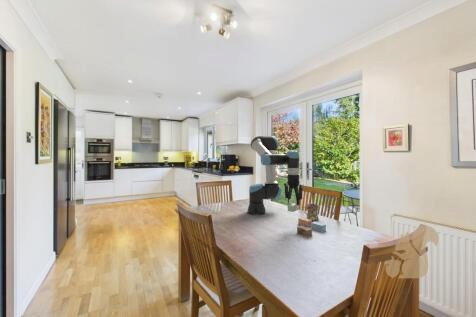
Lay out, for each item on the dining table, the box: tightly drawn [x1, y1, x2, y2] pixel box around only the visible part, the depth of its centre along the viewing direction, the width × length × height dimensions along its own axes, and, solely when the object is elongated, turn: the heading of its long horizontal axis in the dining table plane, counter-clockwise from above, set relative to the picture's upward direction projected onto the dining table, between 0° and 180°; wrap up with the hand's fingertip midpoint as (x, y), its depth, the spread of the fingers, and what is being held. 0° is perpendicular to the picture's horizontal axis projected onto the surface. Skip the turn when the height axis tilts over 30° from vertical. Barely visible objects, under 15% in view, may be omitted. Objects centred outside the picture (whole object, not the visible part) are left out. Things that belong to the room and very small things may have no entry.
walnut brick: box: [296, 225, 313, 238], centre depth 132 cm, size 8×4×4 cm, turn 31°
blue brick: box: [310, 220, 327, 233], centre depth 140 cm, size 8×4×4 cm, turn 39°
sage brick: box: [287, 202, 300, 213], centre depth 144 cm, size 8×4×4 cm, turn 135°
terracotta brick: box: [297, 217, 313, 228], centre depth 150 cm, size 8×4×4 cm, turn 32°
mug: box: [302, 203, 320, 221], centre depth 161 cm, size 12×9×11 cm
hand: (293, 209), depth 144 cm, fingers closed on sage brick, 4 cm apart
